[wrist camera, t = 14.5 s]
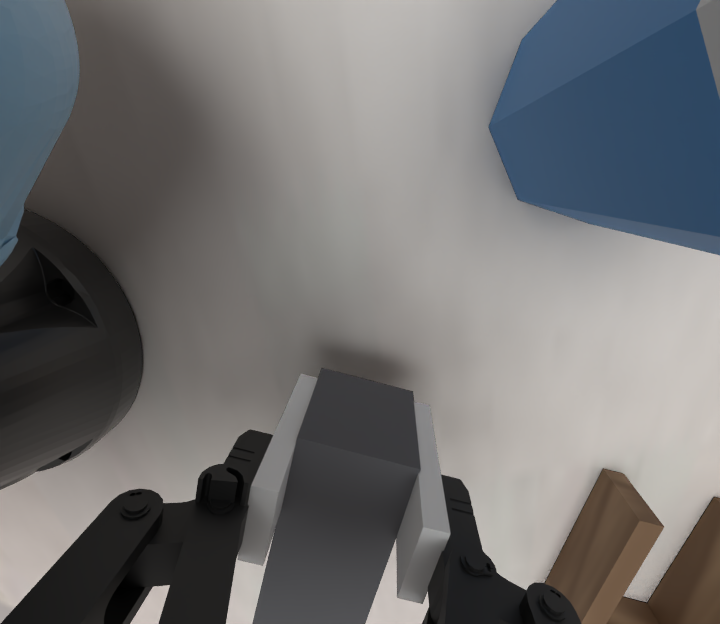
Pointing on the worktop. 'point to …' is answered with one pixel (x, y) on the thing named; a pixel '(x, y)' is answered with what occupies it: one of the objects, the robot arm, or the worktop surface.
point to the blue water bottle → (619, 117)
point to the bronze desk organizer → (636, 561)
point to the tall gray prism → (341, 503)
